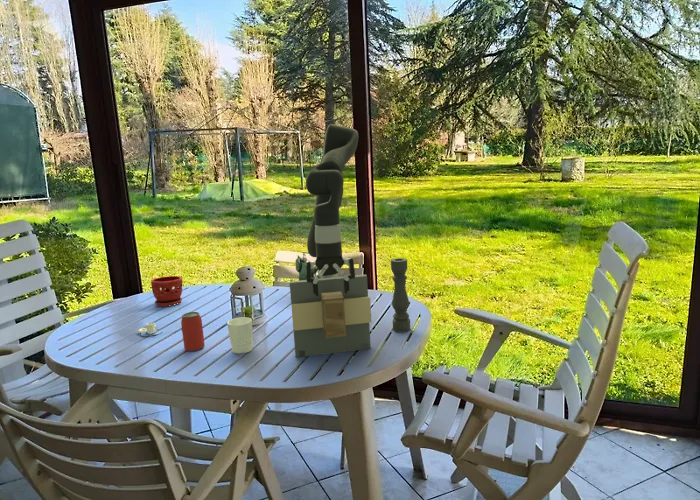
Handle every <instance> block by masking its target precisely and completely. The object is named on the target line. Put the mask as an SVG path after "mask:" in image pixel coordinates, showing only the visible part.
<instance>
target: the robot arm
mask: <svg viewBox="0 0 700 500" xmlns="http://www.w3.org/2000/svg"><path fill="white" fill-rule="evenodd" d="M359 138H360V137H359V132H358V130H356V129H354V128H352V127H347V126H344V125H343V126H342V125H338V124H332V123H331V124H329V125H328V126H327V128H326V130H325V135H324V141H323V151H322V159H321V161H320V163H319V164H317V165H316V166H315V167H313V168H312V169H310V171H309V172H308V174H307V176H306V178H305V187H306V190H307V192H308V193H309V195H312V196H315V203H314V204H315V205H314V208H313V216H312V221H311V225H310V228H309V231H308V237H307V242H306V243H307V244H306V247H307V252H308V255H309V256H311V257H312V258H315V261H310V260H308V261H306V280H307V282H310V283H312V284H313V293H314V294H316V296H319V294H318V283H317V282H318V280H319V279H323V278H333V277H339V275H340V277H343V278H344V280H343V281H344V293H347V291H349V280H350V279H352V278H355V275H356V272H355V263H354V258H352V257H351V256H350V257H347V258H343V249H342V230H341V225H340V208H341V205H342V201H343V200H342V199H343V196H344V183H345V181H344V176H343V174H342V173H343V171H344V168H345V166H346V164H347V163H348V162H349V161H350V160H351V158H352V157H353V156H354V154H355V153H356V151H357V147H358V143H359ZM344 264H346V266H348V270H349V273H348V274H346V272H345V271H344V270H343V269H342V267H343V266H344ZM313 266H314V268H313ZM311 269H313V271H314V278H311ZM338 274H339V275H338Z"/></svg>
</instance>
